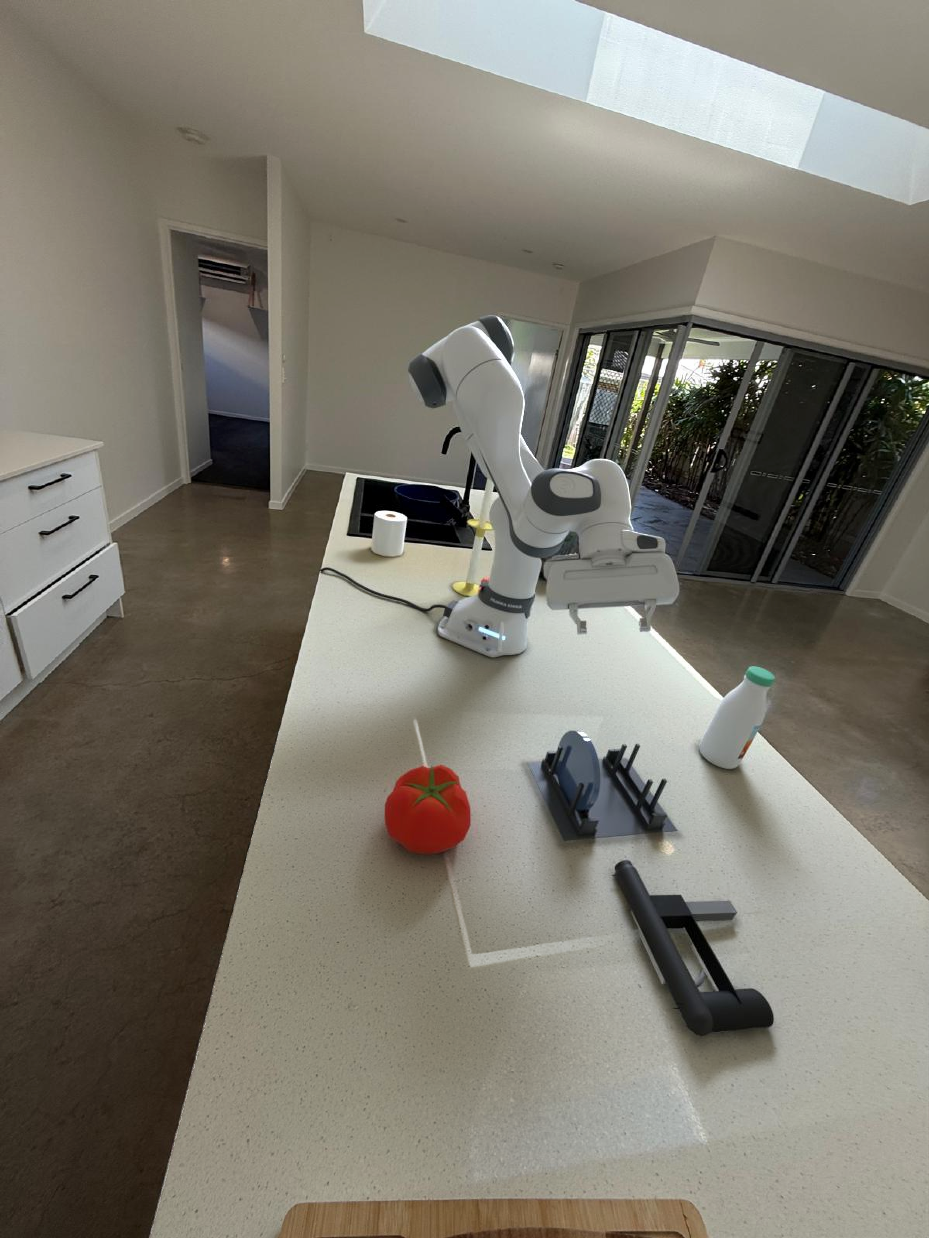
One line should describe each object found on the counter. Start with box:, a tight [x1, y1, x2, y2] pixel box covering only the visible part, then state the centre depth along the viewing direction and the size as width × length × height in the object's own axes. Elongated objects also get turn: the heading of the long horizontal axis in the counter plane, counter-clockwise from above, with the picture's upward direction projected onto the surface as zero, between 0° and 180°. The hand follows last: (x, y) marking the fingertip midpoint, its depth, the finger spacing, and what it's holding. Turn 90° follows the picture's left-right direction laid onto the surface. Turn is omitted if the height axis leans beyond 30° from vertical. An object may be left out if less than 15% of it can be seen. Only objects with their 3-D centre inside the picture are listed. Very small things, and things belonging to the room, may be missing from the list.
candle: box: [452, 477, 495, 598], centre depth 143 cm, size 10×10×38 cm
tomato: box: [384, 764, 472, 855], centre depth 71 cm, size 13×12×8 cm
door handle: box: [611, 859, 775, 1037], centre depth 64 cm, size 3×20×16 cm
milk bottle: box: [698, 665, 776, 770], centre depth 96 cm, size 8×8×20 cm
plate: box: [557, 730, 600, 811], centre depth 79 cm, size 12×1×12 cm, turn 14°
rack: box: [526, 743, 678, 842], centre depth 83 cm, size 16×20×8 cm
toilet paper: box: [370, 510, 408, 558], centre depth 164 cm, size 10×10×12 cm
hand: (613, 632), depth 79 cm, fingers open, 8 cm apart
